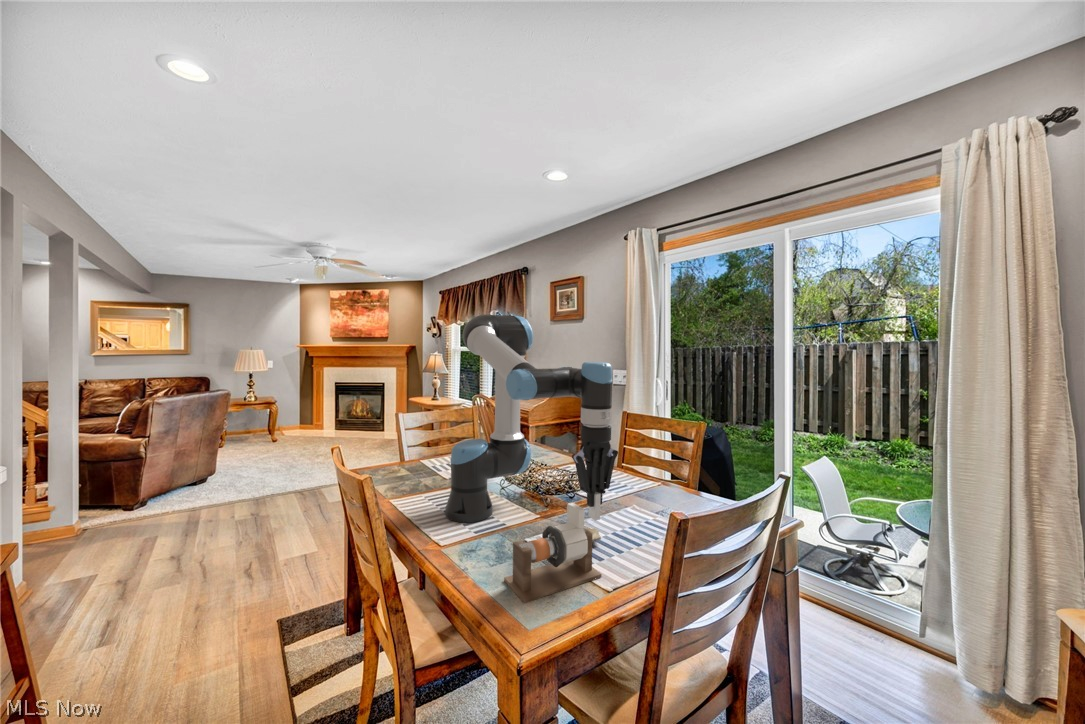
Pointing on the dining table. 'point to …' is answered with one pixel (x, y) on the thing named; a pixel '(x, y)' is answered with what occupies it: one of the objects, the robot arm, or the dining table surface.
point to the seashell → (595, 533)
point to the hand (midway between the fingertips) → (594, 518)
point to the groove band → (541, 549)
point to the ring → (559, 542)
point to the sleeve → (573, 534)
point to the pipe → (552, 546)
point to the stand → (548, 573)
